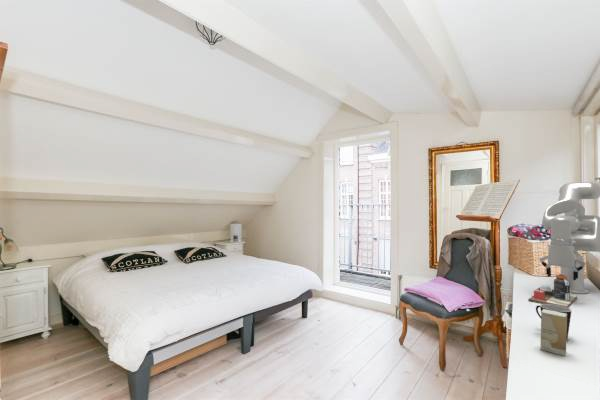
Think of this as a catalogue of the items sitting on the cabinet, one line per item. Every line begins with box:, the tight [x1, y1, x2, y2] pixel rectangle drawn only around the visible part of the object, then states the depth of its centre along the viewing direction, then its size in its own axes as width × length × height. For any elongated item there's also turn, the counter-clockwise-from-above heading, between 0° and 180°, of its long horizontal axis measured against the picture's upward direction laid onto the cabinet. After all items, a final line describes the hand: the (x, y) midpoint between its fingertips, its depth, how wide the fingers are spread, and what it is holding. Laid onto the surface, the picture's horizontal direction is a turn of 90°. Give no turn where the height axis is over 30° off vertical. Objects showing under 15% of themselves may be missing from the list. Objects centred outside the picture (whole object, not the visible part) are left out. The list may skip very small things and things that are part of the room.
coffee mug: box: [535, 303, 572, 340], centre depth 112 cm, size 12×9×10 cm
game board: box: [528, 286, 578, 309], centre depth 153 cm, size 24×14×3 cm, turn 131°
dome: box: [540, 284, 552, 292], centre depth 160 cm, size 5×5×4 cm
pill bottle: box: [553, 274, 571, 300], centre depth 150 cm, size 6×6×11 cm
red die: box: [533, 289, 545, 300], centre depth 151 cm, size 4×4×4 cm
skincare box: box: [539, 309, 568, 357], centre depth 99 cm, size 6×4×12 cm
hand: (561, 277), depth 151 cm, fingers open, 9 cm apart
